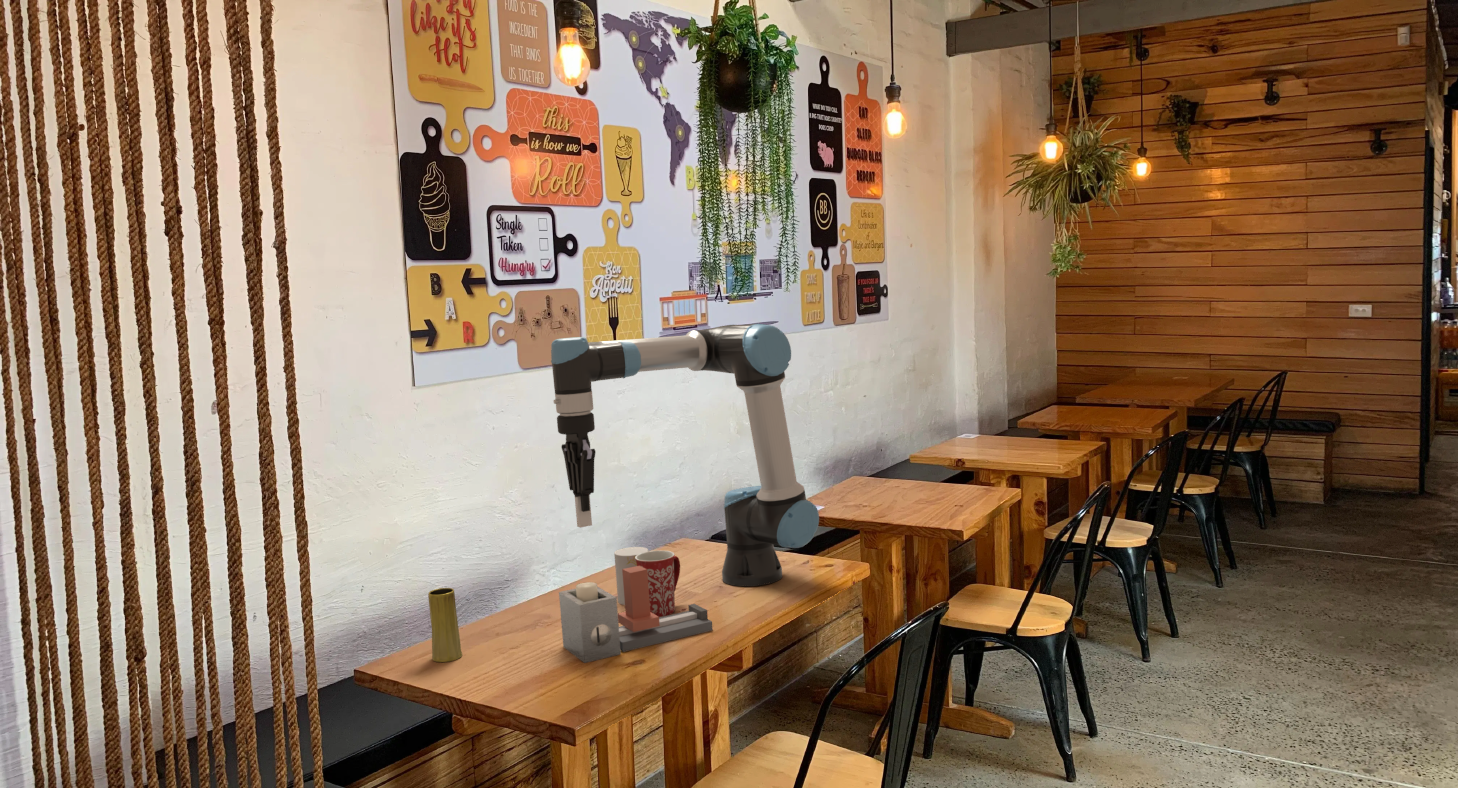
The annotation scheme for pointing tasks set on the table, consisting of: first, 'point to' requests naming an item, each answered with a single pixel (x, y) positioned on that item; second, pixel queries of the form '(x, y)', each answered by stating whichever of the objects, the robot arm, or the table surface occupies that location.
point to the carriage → (637, 601)
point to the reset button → (587, 591)
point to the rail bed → (667, 629)
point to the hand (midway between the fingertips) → (584, 525)
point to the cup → (625, 566)
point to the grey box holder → (590, 625)
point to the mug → (660, 579)
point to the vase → (444, 625)
